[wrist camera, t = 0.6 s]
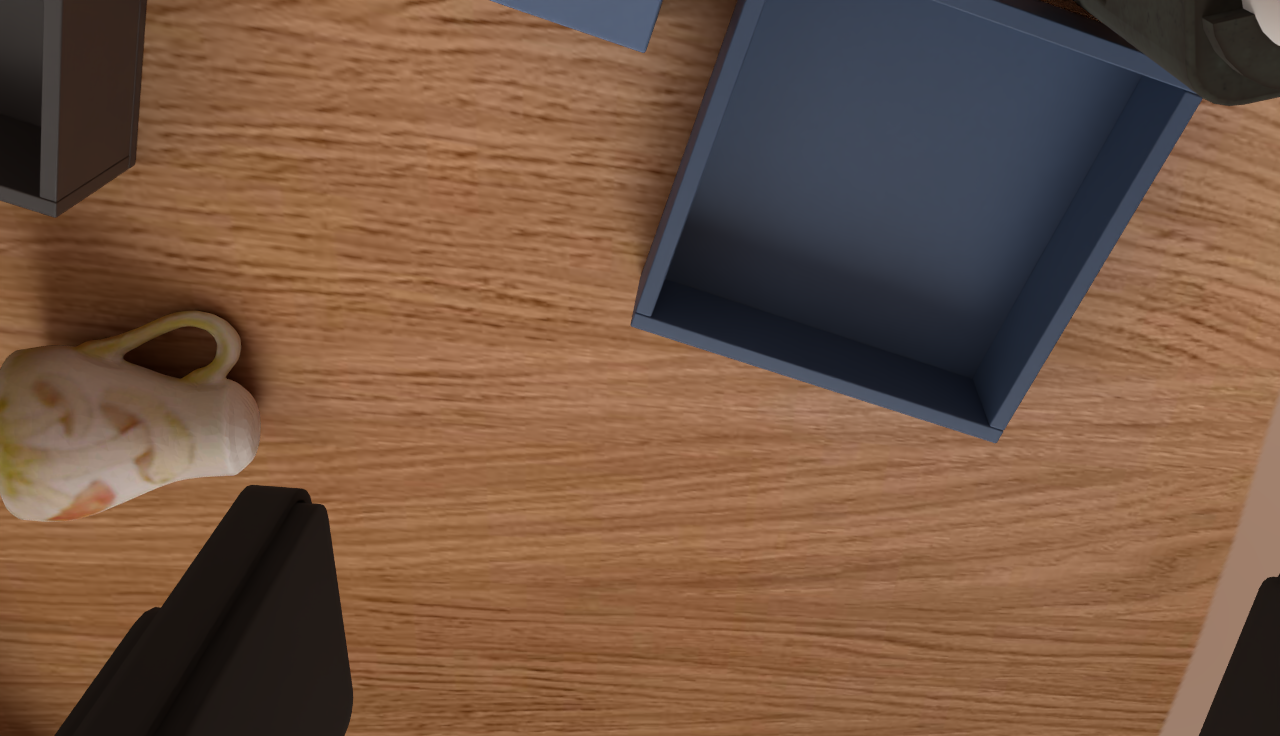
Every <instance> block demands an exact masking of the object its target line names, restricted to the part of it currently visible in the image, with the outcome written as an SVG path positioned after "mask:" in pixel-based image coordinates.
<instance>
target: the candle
mask: <svg viewBox="0 0 1280 736" xmlns="http://www.w3.org/2000/svg"><path fill="white" fill-rule="evenodd" d="M1073 1H1074V2H1076V3H1077V4H1078V5H1080V6H1081V7H1082V8H1084V9H1085V10H1086V11H1088V12H1089V13H1090V14H1092V15H1093V16H1094V17H1096V18H1097V19H1098V20H1100V21H1101V22H1102V23H1104V24H1105V25H1106V26H1108V27H1109V28H1110V29H1112V30H1113V31H1114V32H1115V33H1117V34H1118V35H1119V36H1121V37H1122V38H1123V39H1125V40H1126V41H1127V42H1129V43H1130V44H1131V45H1133V46H1134V47H1135V48H1137V49H1138V50H1139V51H1141V52H1142V53H1143V54H1145V55H1146V56H1147V57H1149V58H1150V59H1151V60H1153V61H1154V62H1155V63H1157V64H1158V65H1159V66H1161V67H1162V68H1163V69H1165V70H1166V71H1167V72H1169V73H1170V74H1171V75H1173V76H1174V77H1175V78H1177V79H1178V80H1179V81H1181V82H1182V83H1183V84H1185V85H1186V86H1187V87H1189V88H1190V89H1191V90H1192V91H1194V92H1195V93H1196V94H1198V95H1199V96H1200V97H1202V98H1203V99H1206V100H1208V101H1210V102H1212V103H1214V104H1220V105H1226V106H1233V105H1244V104H1249V103H1253V102H1258V101H1263V100H1267V99H1272V98H1277V97H1280V0H1073Z"/></svg>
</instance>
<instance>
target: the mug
mask: <svg viewBox="0 0 1280 736" xmlns="http://www.w3.org/2000/svg"><path fill="white" fill-rule="evenodd" d="M187 326H194V327H198V328H201V329H203V330H206V331H208V332H209V333H210V334H211V335H212V336H213V337H214V339H215V341H216V343H217V352H216V356H215V358H214V360H213V361H212V362H211V363H210V364H209V365H208V366H206V367H203V368H199V369H196V370H194V371H192V372H191V373H189V374H188V375H186V376H185V377H183V378H181V379H179V378H175V377H170V376H167V375H164V374H161V373H158V372H155V371H152V370H150V369H147V368H144V367H141V366H138V365H135V364H132V363H129V362H126V361H125V360H124V359H123V356H124V355H125V354H126V353H127V352H129V351H131V350H133V349H134V348H136V347H138V346H140V345H142V344H143V343H145V342H147V341H149V340H151V339H153V338H155V337H158V336H160V335H162V334H164V333H167V332H170V331H172V330H175V329H178V328H181V327H187ZM240 351H241V339H240V336H239V335H238V333H237V332H236V330H235V329H234V328H233V327H232V326H231V325H230V324H229V323H228V322H227V321H226V320H224V319H222V318H220V317H218V316H216V315H214V314H210V313H206V312H201V311H180V312H175V313H172V314H168V315H165V316H163V317H161V318H159V319H156V320H154V321H152V322H150V323H148V324H145V325H143V326H141V327H138V328H136V329H133V330H131V331H128V332H125V333H123V334H120V335H117V336H113V337H108V338H105V339H100V340H90V341H87V342H84V343H82V344H80V345H78V346H77V347H75V346H66V345H51V346H41V347H35V348H29V349H23V350H17V351H15V352H13V353H12V354H11V355H9V356H8V357H7V358H6V360H5V361H4V363H3V365H2V367H1V368H0V495H1V497H2V500H3V502H4V504H5V506H6V508H7V510H8V511H9V512H10V513H11V514H13V515H14V516H16V517H17V518H19V519H22V520H34V521H44V522H60V521H70V520H76V519H80V518H83V517H87V516H91V515H94V514H97V513H99V512H102V511H104V510H107V509H109V508H112V507H114V506H117V505H119V504H121V503H124V502H126V501H128V500H131V499H133V498H135V497H137V496H140V495H142V494H144V493H147V492H149V491H151V490H154V489H156V488H158V487H161V486H164V485H166V484H169V483H172V482H175V481H179V480H184V479H191V478H198V477H212V476H226V475H229V476H233V475H236V474H238V473H239V472H240V471H242V470H243V469H244V468H245V467H246V466H247V465H248V464H249V463H250V462H251V461H252V460H253V459H254V457H255V455H256V452H257V449H258V446H259V441H260V428H261V422H260V413H259V409H258V406H257V403H256V401H255V399H254V398H253V396H252V395H251V394H250V392H248V391H247V390H246V389H245V388H243V387H242V386H241V385H240V384H238V383H237V382H234V381H232V380H229V379H227V378H226V375H227V374H228V373H229V371H230V370H231V369H232V367H233V366H234V365H235V364H236V362H237V361H238V359H239V356H240Z"/></svg>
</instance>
